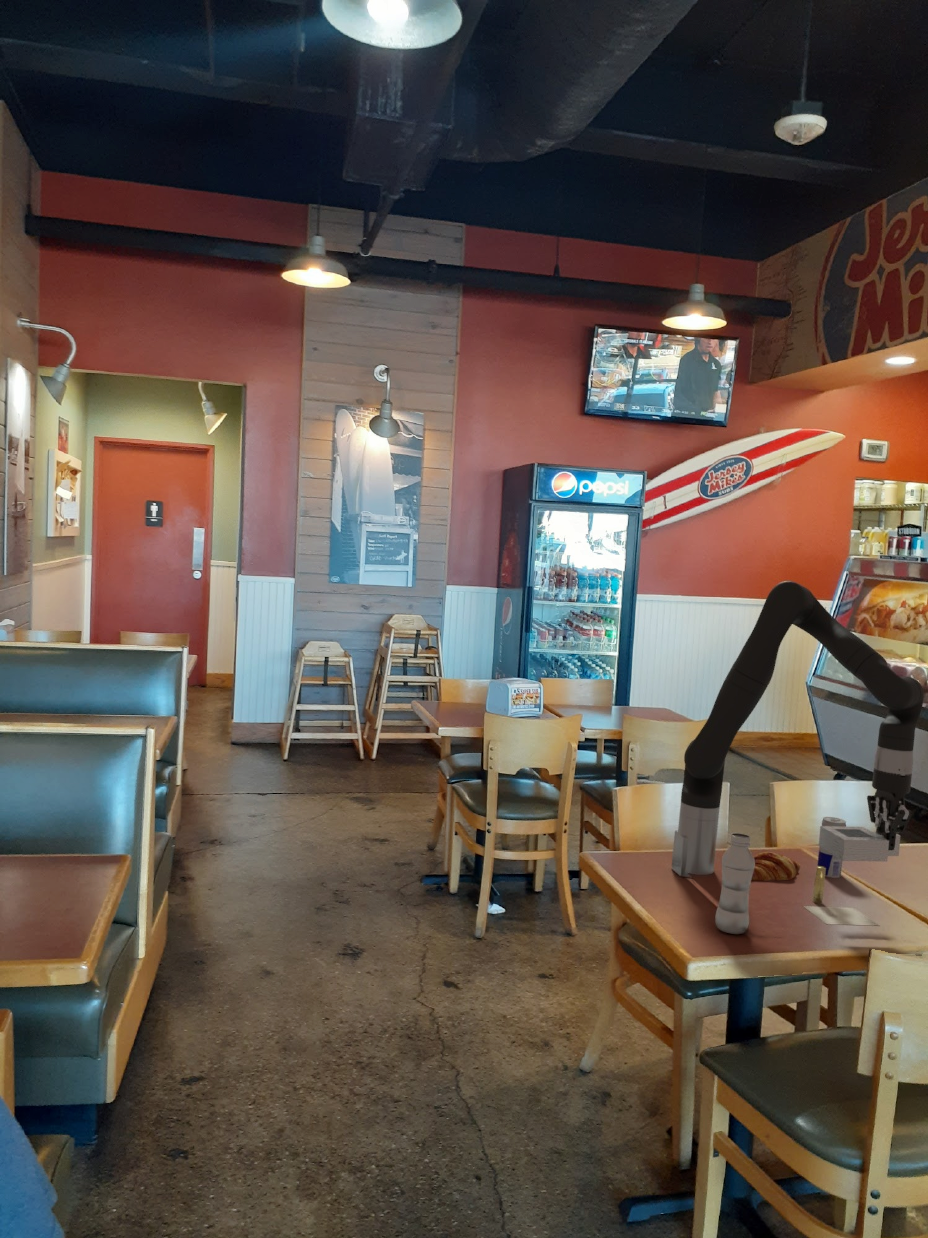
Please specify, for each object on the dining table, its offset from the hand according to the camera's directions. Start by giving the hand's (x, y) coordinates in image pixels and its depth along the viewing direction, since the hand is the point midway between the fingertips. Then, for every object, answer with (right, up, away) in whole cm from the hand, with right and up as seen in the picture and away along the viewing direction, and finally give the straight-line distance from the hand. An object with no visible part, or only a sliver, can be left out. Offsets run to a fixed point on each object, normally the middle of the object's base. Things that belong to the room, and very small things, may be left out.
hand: (884, 847), depth 201 cm
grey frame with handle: (-5, -1, -1) cm, 5 cm away
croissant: (-15, -14, +26) cm, 34 cm away
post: (-12, -14, +7) cm, 20 cm away
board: (-10, -16, +4) cm, 19 cm away
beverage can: (-1, -15, +30) cm, 33 cm away
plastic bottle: (-37, -15, -11) cm, 41 cm away
